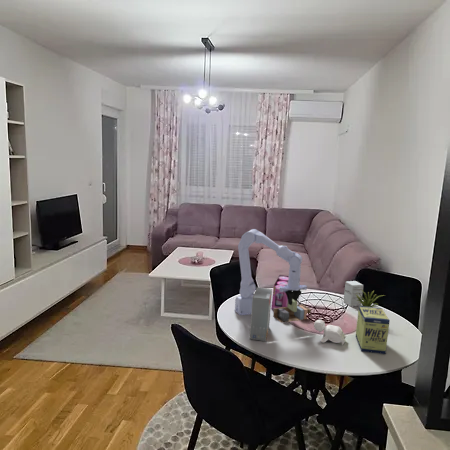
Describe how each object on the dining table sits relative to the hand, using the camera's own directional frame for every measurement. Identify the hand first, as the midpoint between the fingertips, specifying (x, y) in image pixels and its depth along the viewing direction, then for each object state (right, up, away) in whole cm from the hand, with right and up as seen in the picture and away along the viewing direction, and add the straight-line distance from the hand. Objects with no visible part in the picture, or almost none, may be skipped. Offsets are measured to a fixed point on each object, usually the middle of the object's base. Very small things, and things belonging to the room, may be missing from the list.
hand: (292, 304), depth 207 cm
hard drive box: (-18, -11, -15) cm, 25 cm away
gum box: (-2, -5, +25) cm, 25 cm away
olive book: (0, -3, 0) cm, 3 cm away
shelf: (0, -8, +4) cm, 9 cm away
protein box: (+32, -15, -21) cm, 41 cm away
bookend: (-4, -8, +2) cm, 9 cm away
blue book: (+4, -8, +5) cm, 10 cm away
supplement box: (+39, -6, +30) cm, 50 cm away
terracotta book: (+6, -8, +6) cm, 12 cm away
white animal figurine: (+14, -13, -18) cm, 26 cm away
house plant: (+40, -10, +7) cm, 42 cm away
